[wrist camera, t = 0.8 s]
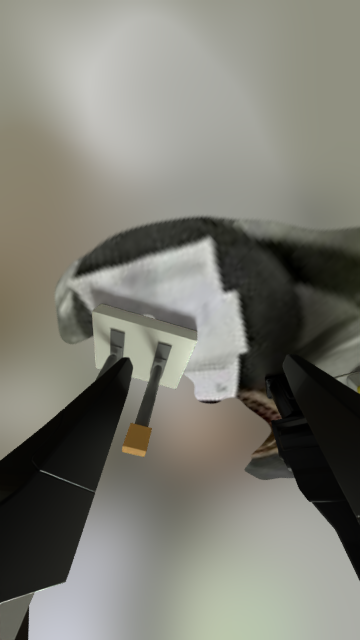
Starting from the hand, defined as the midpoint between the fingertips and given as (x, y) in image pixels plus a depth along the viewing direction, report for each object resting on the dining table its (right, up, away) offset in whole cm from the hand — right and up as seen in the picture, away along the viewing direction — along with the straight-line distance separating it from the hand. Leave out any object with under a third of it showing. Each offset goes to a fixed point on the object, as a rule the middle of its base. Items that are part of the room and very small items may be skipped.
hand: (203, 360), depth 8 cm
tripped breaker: (-5, -5, +16) cm, 18 cm away
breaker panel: (-8, -3, +18) cm, 20 cm away
